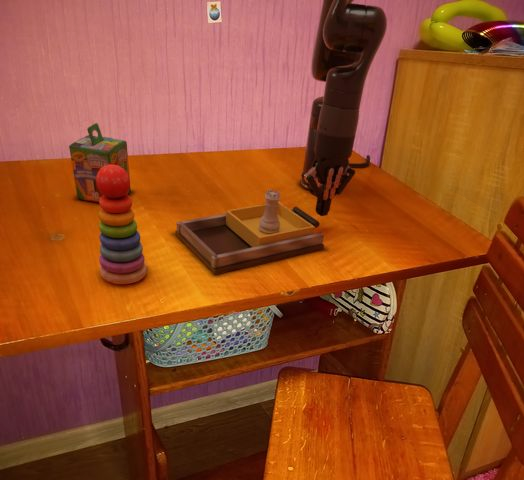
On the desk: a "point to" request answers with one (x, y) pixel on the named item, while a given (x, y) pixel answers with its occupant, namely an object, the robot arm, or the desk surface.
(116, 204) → the stacking toy
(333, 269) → the desk surface
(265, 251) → the base
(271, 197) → the rook chess piece
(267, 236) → the tray
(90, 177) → the chalk box
